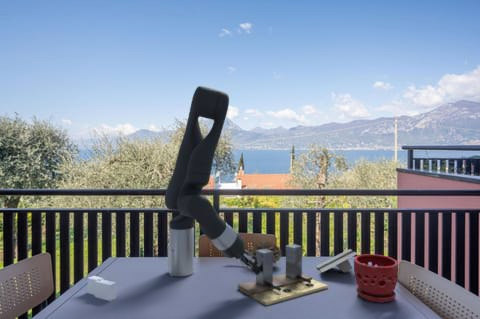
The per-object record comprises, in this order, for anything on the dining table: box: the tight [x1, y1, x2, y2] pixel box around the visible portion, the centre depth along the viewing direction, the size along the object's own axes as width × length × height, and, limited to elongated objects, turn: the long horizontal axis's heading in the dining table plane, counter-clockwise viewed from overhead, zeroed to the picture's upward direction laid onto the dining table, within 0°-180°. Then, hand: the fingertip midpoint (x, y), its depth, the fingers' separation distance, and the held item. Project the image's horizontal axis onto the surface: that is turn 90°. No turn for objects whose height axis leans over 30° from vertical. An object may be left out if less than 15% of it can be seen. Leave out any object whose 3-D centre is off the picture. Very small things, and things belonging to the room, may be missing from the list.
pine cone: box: [249, 240, 282, 264], centre depth 144 cm, size 22×10×10 cm, turn 80°
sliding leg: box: [255, 249, 281, 291], centre depth 115 cm, size 4×10×11 cm, turn 33°
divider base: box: [237, 243, 313, 298], centre depth 119 cm, size 26×12×12 cm, turn 123°
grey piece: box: [316, 248, 359, 274], centre depth 135 cm, size 16×9×15 cm
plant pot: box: [353, 253, 399, 303], centre depth 111 cm, size 13×13×12 cm
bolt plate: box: [252, 278, 329, 307], centre depth 114 cm, size 26×7×1 cm, turn 123°
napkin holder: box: [87, 275, 117, 302], centre depth 112 cm, size 15×11×6 cm
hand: (258, 272), depth 117 cm, fingers closed
